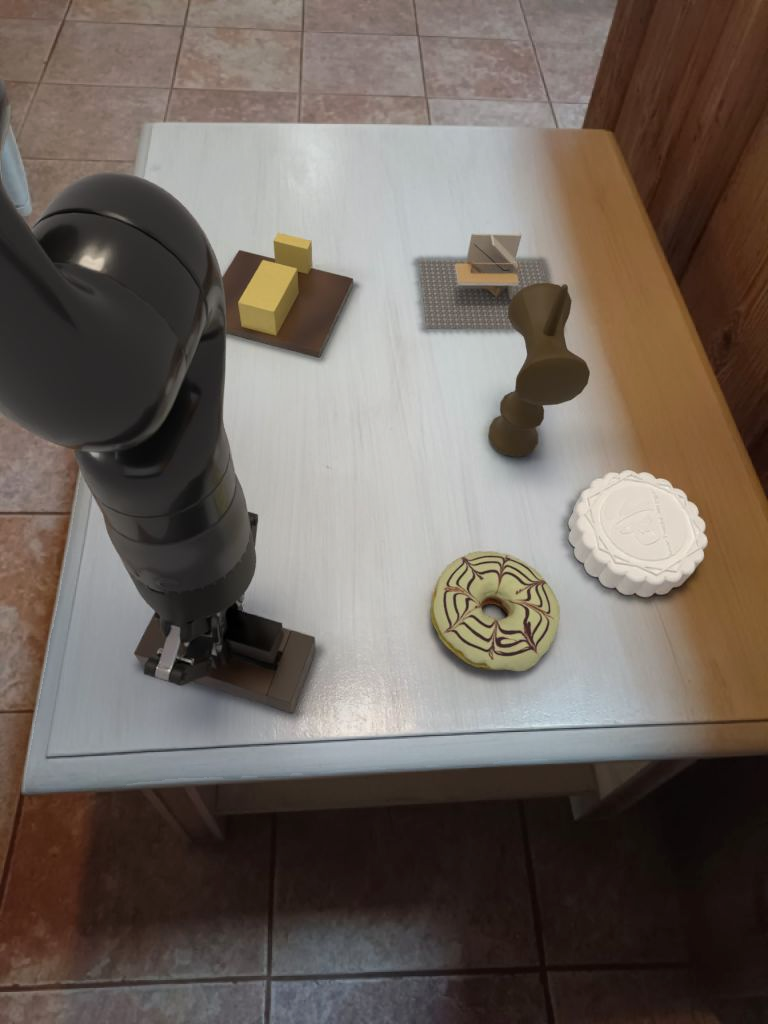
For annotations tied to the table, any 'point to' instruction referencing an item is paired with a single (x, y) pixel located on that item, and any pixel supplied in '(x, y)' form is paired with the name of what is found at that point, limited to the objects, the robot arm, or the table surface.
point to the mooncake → (637, 533)
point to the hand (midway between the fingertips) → (223, 640)
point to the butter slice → (293, 252)
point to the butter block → (268, 297)
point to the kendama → (538, 367)
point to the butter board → (307, 314)
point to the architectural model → (477, 284)
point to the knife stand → (250, 670)
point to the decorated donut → (483, 636)
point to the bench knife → (251, 638)
